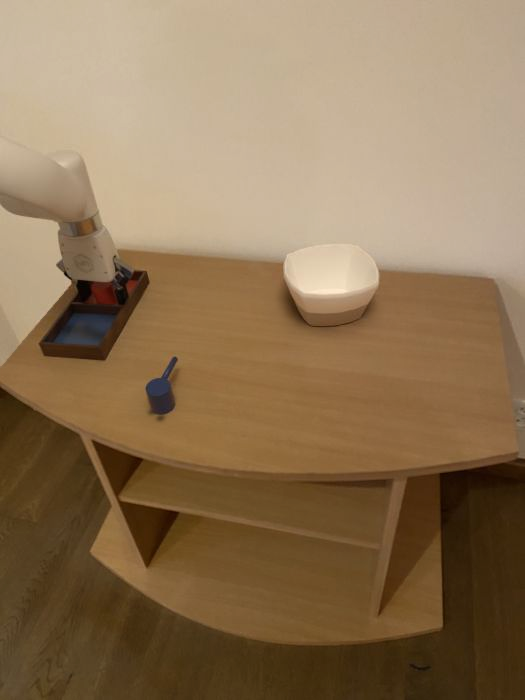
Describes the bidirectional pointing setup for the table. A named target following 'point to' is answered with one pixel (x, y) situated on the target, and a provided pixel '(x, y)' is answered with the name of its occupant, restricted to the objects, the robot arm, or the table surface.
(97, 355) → the tray
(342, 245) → the bowl
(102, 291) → the red round-headed part
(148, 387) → the blue mallet
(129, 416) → the table surface
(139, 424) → the table surface
